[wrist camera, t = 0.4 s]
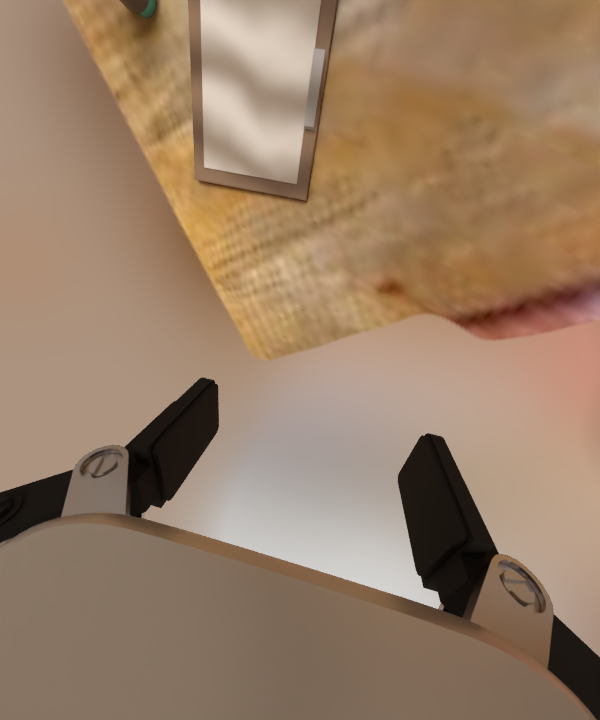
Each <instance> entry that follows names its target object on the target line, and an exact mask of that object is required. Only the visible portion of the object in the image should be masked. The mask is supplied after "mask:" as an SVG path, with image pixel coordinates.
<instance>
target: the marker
mask: <svg viewBox="0 0 600 720" xmlns="http://www.w3.org/2000/svg"><path fill="white" fill-rule="evenodd" d="M120 1H121V2H122V3H123V4H124V5H125V6H126V7H127V8H128V9H129V10H130V11H131V12H133V13H136V14H140V15H141V16H143V17H145V18H149V17H151V16H152V15H153V13H154V11H155V8H156V0H120Z"/></svg>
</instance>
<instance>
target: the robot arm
mask: <svg viewBox="0 0 600 720" xmlns="http://www.w3.org/2000/svg"><path fill="white" fill-rule="evenodd" d="M218 413H219V412H218V385H217V384H215V381H214V380H210V379H206V378H200V379H199V380H198V381H197V382H196V383H195V384H194V385H193V386H191V388H189V389H188V390H187V391H186V392H185V393H184V394H183V395H182V396H181V397H180V398H179V399H178V400H177V401H174V402H173V403H172V404H170V405H169V406H168V407H167V408H166V409H165V410H164V411H163V412H162V413H161V414H160V415H159V416H157V417H156V418H155V419H154V420H153V421H152V422H151V423H150V424H149V425H148V426H147V427H146V428H145V429H143V430H142V431H141V432H140V433H139V434H138V435H137V436H136V437H135V438H134V439H133V440H132V441H131V442H130V443H129V444H127V445H126V446H125V447H122V446H119V445H110V446H104V447H101V448H98V449H95V450H94V451H92V452H90V453H88V454H87V455H85V456H84V457H83V458H81V459H80V461H79V462H78V463H77V464H76V466H75V468H74V470H70V471H67V472H64V473H61V474H58V475H54V476H51V477H48V478H46V479H42V480H39V481H36V482H32V483H29V484H26V485H23V486H20V487H16V488H14V489H10V490H7V491H4V492H1V493H0V720H600V657H599V656H598V655H597V654H595V653H594V652H593V651H592V650H591V649H590V648H589V647H588V646H587V645H586V644H585V643H584V642H583V641H582V640H580V638H578V637H577V636H576V635H575V634H574V633H573V632H572V631H571V630H570V629H569V628H568V627H567V626H566V625H565V624H564V623H563V622H561V621H560V620H559V619H558V618H557V617H556V616H555V615H554V613H553V605H552V602H551V600H550V597H549V595H548V593H547V592H546V590H545V588H544V587H543V585H542V584H541V582H540V581H539V580H538V579H537V578H536V576H535V575H534V574H533V573H532V572H531V571H530V570H528V568H527V567H525V566H524V565H523V564H522V563H520V562H519V561H517V560H516V559H514V558H512V557H510V556H508V555H503V554H499V553H498V551H497V549H496V547H495V545H494V542H493V541H492V538H491V536H490V534H489V532H488V530H487V528H486V526H485V524H484V522H483V520H482V517H481V515H480V513H479V511H478V509H477V507H476V505H475V503H474V501H473V499H472V496H471V494H470V492H469V490H468V488H467V486H466V484H465V482H464V480H463V478H462V476H461V474H460V471H459V469H458V467H457V465H456V463H455V461H454V459H453V457H452V455H451V453H450V450H449V448H448V446H447V444H446V442H445V440H444V439H443V437H441V436H437V435H433V434H426V435H425V436H421V437H420V438H419V440H418V442H417V444H416V445H415V447H414V449H413V450H412V452H411V454H410V456H409V457H408V459H407V461H406V462H405V464H404V466H403V467H402V469H401V471H400V473H399V475H398V484H399V490H400V494H401V499H402V504H403V509H404V514H405V519H406V524H407V529H408V534H409V538H410V543H411V548H412V553H413V558H414V563H415V567H416V571H417V574H418V575H419V576H421V578H422V583H423V587H424V588H427V589H431V590H433V591H437V592H438V594H439V598H440V602H441V604H440V606H439V608H438V609H435V608H433V607H430V606H427V605H424V604H421V603H418V602H414V601H412V600H408V599H406V598H403V597H399V596H396V595H393V594H390V593H387V592H383V591H380V590H377V589H374V588H371V587H368V586H365V585H361V584H358V583H355V582H352V581H349V580H345V579H342V578H339V577H336V576H333V575H330V574H326V573H323V572H320V571H316V570H313V569H310V568H307V567H303V566H300V565H297V564H294V563H290V562H287V561H284V560H281V559H278V558H274V557H271V556H268V555H265V554H261V553H258V552H255V551H252V550H248V549H245V548H242V547H239V546H235V545H232V544H229V543H225V542H222V541H219V540H215V539H212V538H209V537H206V536H202V535H199V534H196V533H192V532H189V531H186V530H182V529H179V528H175V527H171V526H168V525H164V524H161V523H157V522H154V521H150V520H146V519H144V512H146V511H147V509H148V508H149V507H150V505H153V506H156V507H159V508H161V507H162V506H163V505H164V503H165V502H166V500H168V501H169V500H171V499H172V498H173V496H174V495H175V493H176V492H177V491H178V489H179V488H180V486H181V484H182V483H183V482H184V480H185V479H186V477H187V476H188V474H189V473H190V471H191V470H192V468H193V467H194V465H195V464H196V462H197V461H198V460H199V458H200V456H201V455H202V454H203V452H204V451H205V449H206V448H207V446H208V445H209V443H210V442H211V440H212V439H213V437H214V436H215V434H216V433H217V431H218V427H219V414H218Z"/></svg>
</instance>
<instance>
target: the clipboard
mask: <svg viewBox="0 0 600 720" xmlns="http://www.w3.org/2000/svg"><path fill="white" fill-rule="evenodd" d="M337 5H338V0H188V7H189V32H190V58H191V83H192V109H193V134H194V160H195V179H196V180H198V181H202V182H207V183H213V184H218V185H223V186H229V187H234V188H239V189H244V190H250V191H255V192H260V193H266V194H271V195H276V196H282V197H287V198H292V199H298V200H303V201H307V198H308V191H309V185H310V178H311V172H312V166H313V159H314V153H315V146H316V140H317V133H318V127H319V121H320V114H321V108H322V101H323V95H324V88H325V82H326V76H327V69H328V63H329V56H330V50H331V43H332V37H333V31H334V24H335V18H336V11H337Z"/></svg>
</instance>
